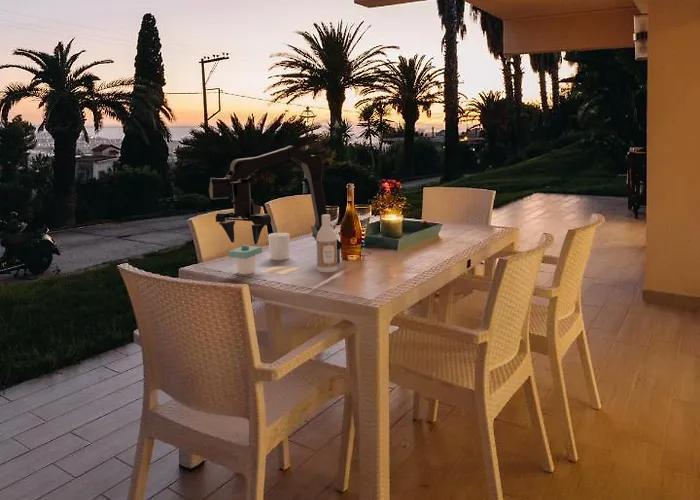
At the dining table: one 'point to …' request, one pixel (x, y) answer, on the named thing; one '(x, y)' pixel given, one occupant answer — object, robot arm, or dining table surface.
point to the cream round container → (246, 265)
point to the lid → (245, 251)
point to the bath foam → (326, 247)
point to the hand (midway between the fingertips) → (244, 243)
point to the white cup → (279, 245)
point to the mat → (280, 270)
